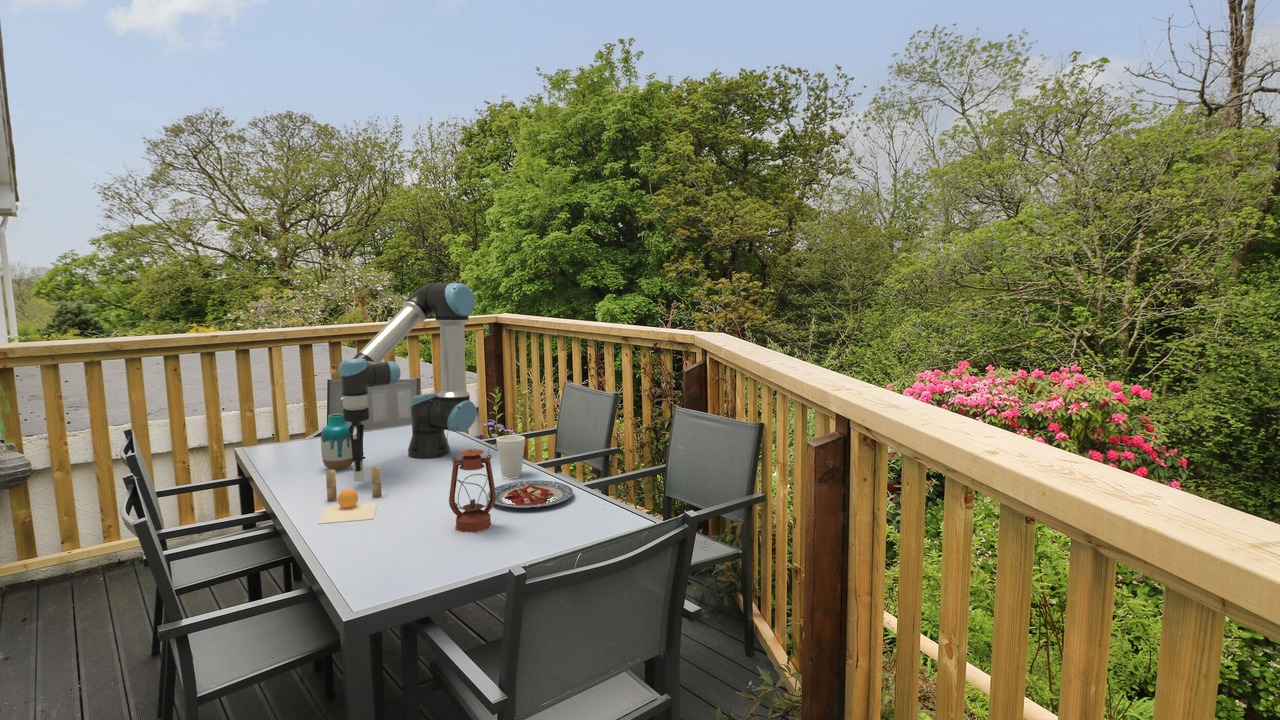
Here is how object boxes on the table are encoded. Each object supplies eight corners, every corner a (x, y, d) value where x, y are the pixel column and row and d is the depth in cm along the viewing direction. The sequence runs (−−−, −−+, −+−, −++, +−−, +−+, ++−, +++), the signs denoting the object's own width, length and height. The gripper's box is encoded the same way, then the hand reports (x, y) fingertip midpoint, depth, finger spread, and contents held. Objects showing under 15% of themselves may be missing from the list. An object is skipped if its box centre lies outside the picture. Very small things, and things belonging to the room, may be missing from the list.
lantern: (472, 535, 176) (469, 421, 172) (445, 527, 181) (441, 417, 178) (499, 524, 184) (496, 415, 181) (472, 517, 189) (469, 411, 186)
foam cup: (491, 478, 227) (490, 440, 226) (507, 471, 236) (506, 434, 234) (516, 481, 224) (515, 442, 222) (530, 473, 232) (530, 436, 231)
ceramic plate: (469, 500, 205) (469, 490, 205) (537, 482, 224) (537, 473, 224) (522, 520, 188) (522, 510, 187) (590, 499, 206) (590, 489, 206)
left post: (337, 498, 205) (335, 469, 204) (336, 501, 203) (334, 471, 202) (328, 499, 205) (326, 470, 204) (326, 501, 202) (325, 472, 201)
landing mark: (377, 503, 201) (377, 502, 201) (373, 519, 188) (373, 518, 188) (325, 507, 197) (325, 507, 197) (317, 524, 184) (317, 523, 184)
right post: (381, 494, 209) (380, 466, 208) (381, 497, 207) (379, 468, 206) (372, 495, 208) (371, 467, 207) (372, 498, 206) (370, 469, 205)
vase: (347, 473, 233) (344, 418, 230) (316, 473, 233) (313, 418, 231) (360, 465, 243) (358, 412, 241) (331, 464, 243) (328, 412, 241)
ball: (356, 485, 196) (355, 504, 194) (360, 491, 201) (359, 509, 198) (336, 487, 195) (335, 506, 193) (340, 492, 200) (339, 511, 197)
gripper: (345, 404, 220) (349, 475, 223) (340, 412, 208) (343, 487, 211) (370, 403, 222) (373, 473, 225) (366, 410, 210) (369, 485, 213)
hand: (359, 480), depth 218 cm, fingers closed
